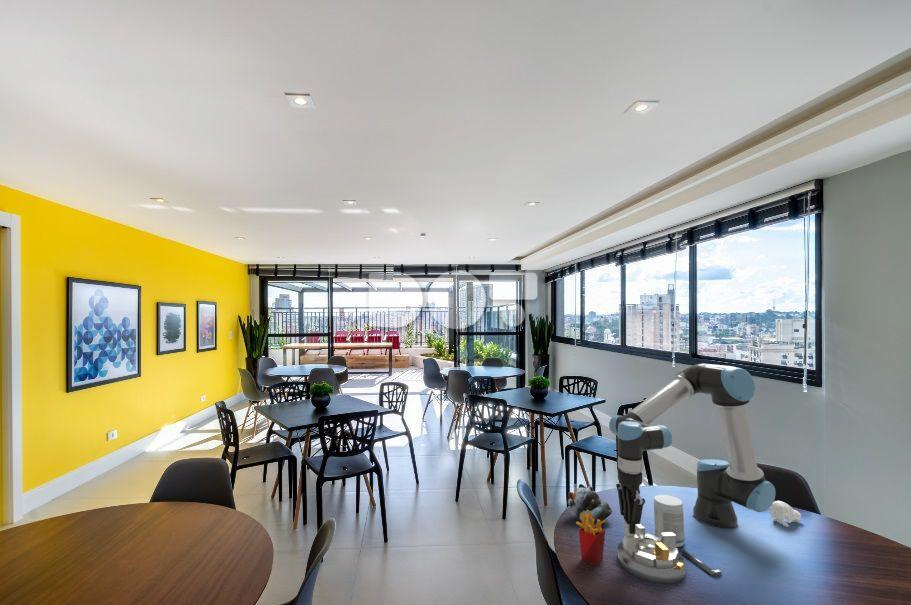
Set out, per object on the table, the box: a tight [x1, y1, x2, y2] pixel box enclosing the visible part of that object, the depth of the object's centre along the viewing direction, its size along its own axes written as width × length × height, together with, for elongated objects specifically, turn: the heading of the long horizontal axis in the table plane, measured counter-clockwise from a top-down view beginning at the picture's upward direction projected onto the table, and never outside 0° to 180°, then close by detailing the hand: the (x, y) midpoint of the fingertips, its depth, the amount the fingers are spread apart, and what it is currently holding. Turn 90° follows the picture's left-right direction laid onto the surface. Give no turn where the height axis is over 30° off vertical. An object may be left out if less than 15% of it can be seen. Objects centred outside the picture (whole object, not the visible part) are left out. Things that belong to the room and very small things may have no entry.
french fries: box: [575, 510, 607, 567], centre depth 136 cm, size 9×8×15 cm
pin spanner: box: [680, 549, 723, 577], centre depth 133 cm, size 13×3×2 cm, turn 13°
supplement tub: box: [653, 494, 685, 548], centre depth 148 cm, size 10×10×15 cm
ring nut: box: [622, 523, 679, 569], centre depth 134 cm, size 16×16×6 cm
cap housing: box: [617, 539, 686, 584], centre depth 134 cm, size 20×20×6 cm
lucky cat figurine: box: [567, 483, 613, 527], centre depth 164 cm, size 15×12×14 cm
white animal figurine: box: [768, 500, 802, 528], centre depth 161 cm, size 6×8×12 cm
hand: (630, 541), depth 134 cm, fingers closed
